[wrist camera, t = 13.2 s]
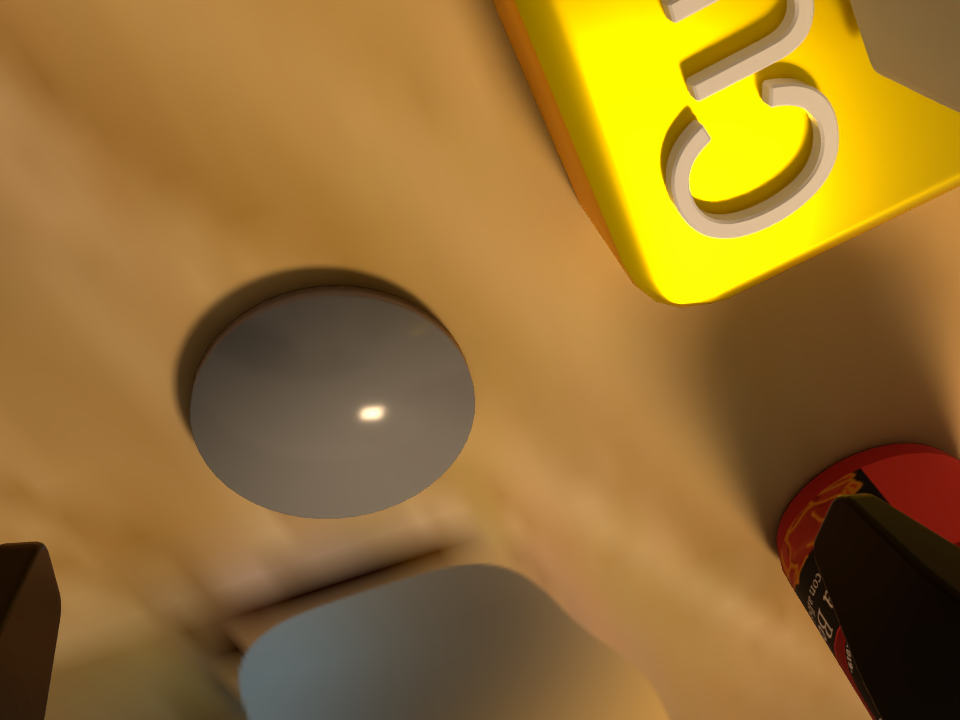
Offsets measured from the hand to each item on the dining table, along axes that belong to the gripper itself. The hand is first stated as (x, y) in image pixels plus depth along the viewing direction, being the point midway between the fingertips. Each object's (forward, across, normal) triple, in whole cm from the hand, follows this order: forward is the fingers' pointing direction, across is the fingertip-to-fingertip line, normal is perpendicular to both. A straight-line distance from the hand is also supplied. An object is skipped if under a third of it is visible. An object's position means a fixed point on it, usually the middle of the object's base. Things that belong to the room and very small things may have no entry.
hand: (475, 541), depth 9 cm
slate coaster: (+13, +1, +8) cm, 15 cm away
